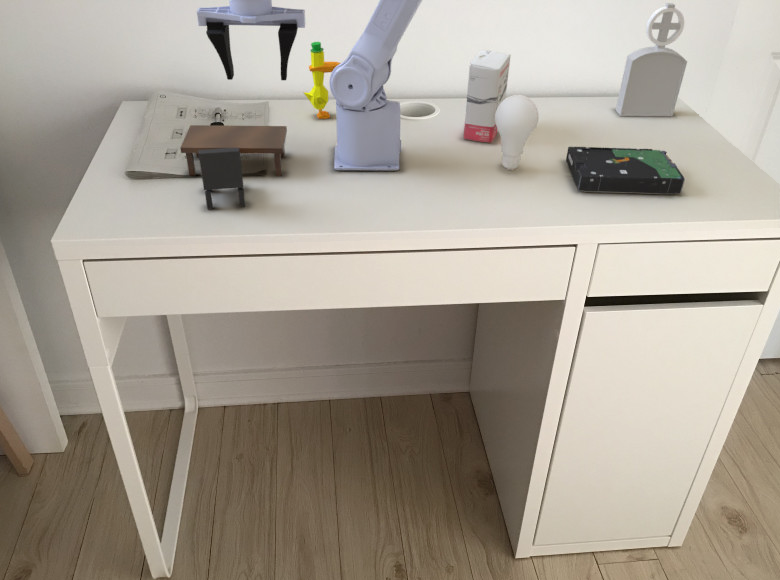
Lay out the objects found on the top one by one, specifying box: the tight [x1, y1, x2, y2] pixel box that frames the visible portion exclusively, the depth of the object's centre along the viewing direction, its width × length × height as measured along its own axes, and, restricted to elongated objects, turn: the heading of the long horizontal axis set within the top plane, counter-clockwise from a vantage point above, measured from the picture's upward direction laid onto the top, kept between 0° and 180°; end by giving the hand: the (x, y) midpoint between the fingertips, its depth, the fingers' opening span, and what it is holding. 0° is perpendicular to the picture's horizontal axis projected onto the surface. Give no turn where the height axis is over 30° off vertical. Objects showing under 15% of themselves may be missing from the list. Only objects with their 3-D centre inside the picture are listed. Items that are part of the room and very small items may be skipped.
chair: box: [198, 148, 246, 210], centre depth 95 cm, size 5×6×8 cm
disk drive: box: [565, 146, 686, 195], centre depth 105 cm, size 10×3×15 cm
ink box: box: [463, 49, 511, 144], centre depth 114 cm, size 9×5×12 cm, turn 161°
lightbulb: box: [495, 94, 539, 171], centre depth 104 cm, size 6×6×11 cm
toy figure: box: [303, 41, 341, 120], centre depth 117 cm, size 7×4×12 cm, turn 105°
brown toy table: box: [179, 124, 288, 177], centre depth 104 cm, size 14×8×4 cm, turn 93°
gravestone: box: [615, 2, 688, 117], centre depth 121 cm, size 3×9×18 cm, turn 94°
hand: (257, 77), depth 105 cm, fingers open, 7 cm apart
